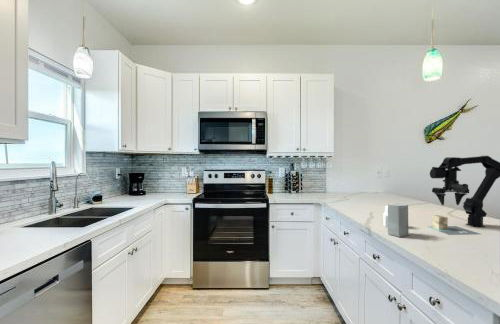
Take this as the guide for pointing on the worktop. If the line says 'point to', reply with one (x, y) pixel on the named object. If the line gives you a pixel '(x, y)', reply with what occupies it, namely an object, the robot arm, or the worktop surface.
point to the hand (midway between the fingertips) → (450, 205)
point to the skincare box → (398, 220)
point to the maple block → (439, 222)
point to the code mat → (456, 231)
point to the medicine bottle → (385, 217)
